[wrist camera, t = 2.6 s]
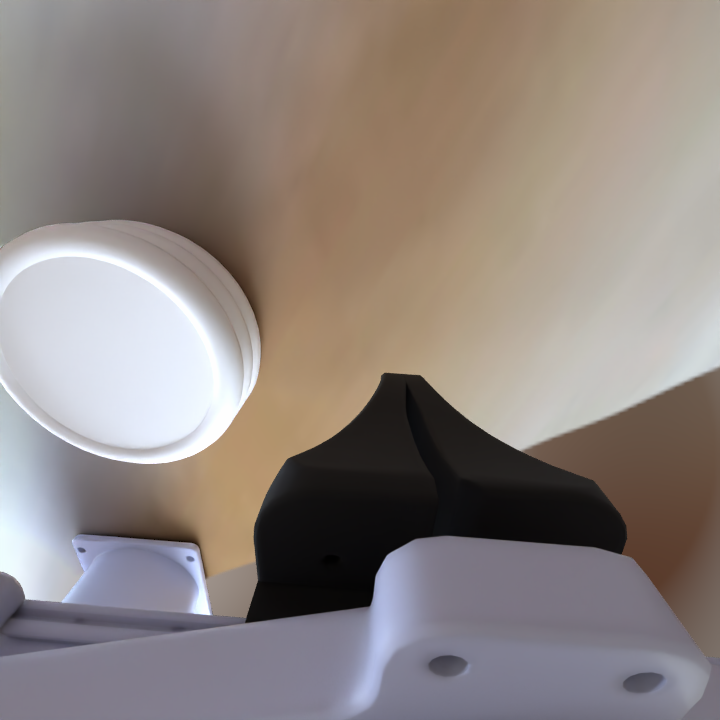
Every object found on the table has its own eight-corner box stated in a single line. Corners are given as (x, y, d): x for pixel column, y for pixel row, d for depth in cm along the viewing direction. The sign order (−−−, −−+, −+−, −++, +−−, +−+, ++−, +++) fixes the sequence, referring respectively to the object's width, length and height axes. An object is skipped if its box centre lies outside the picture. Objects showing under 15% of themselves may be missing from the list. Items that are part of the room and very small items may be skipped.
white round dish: (25, 198, 14) (-79, 197, 11) (271, 242, 14) (240, 254, 11) (70, 406, 18) (5, 449, 15) (259, 437, 18) (235, 486, 15)
